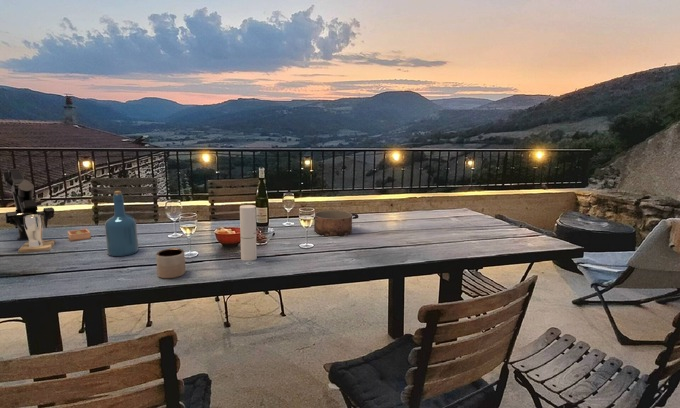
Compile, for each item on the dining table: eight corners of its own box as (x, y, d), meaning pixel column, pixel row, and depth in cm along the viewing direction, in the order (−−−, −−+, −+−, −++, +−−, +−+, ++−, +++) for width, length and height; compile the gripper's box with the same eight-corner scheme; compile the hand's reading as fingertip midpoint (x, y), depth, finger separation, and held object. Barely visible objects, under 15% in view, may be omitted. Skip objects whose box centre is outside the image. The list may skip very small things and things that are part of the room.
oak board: (26, 244, 197) (25, 242, 197) (55, 242, 202) (54, 239, 202) (18, 253, 185) (18, 250, 184) (49, 250, 190) (49, 247, 190)
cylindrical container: (259, 257, 187) (258, 205, 182) (251, 261, 181) (250, 208, 176) (246, 255, 189) (245, 204, 184) (238, 259, 183) (236, 207, 178)
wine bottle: (125, 258, 181) (119, 194, 175) (100, 255, 184) (94, 192, 178) (145, 249, 194) (140, 189, 188) (122, 247, 197) (116, 188, 191)
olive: (76, 236, 210) (75, 230, 210) (83, 235, 212) (82, 230, 211) (75, 237, 208) (74, 232, 207) (82, 237, 209) (81, 231, 209)
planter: (162, 269, 169) (161, 248, 167) (188, 269, 170) (187, 248, 168) (153, 279, 158) (151, 256, 156) (181, 279, 159) (179, 256, 157)
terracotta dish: (68, 237, 210) (67, 231, 210) (87, 234, 216) (87, 228, 215) (70, 241, 204) (69, 235, 203) (90, 238, 210) (90, 232, 209)
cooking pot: (308, 237, 222) (308, 219, 220) (307, 227, 243) (307, 210, 241) (360, 237, 225) (361, 218, 223) (355, 226, 247) (355, 210, 245)
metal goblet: (31, 248, 187) (26, 218, 184) (24, 246, 190) (20, 216, 187) (48, 245, 193) (43, 215, 189) (41, 242, 196) (37, 213, 193)
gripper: (2, 195, 182) (10, 223, 177) (51, 191, 196) (59, 216, 190) (2, 209, 189) (9, 236, 184) (49, 204, 202) (57, 229, 197)
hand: (34, 229), depth 189 cm, fingers open, 9 cm apart
